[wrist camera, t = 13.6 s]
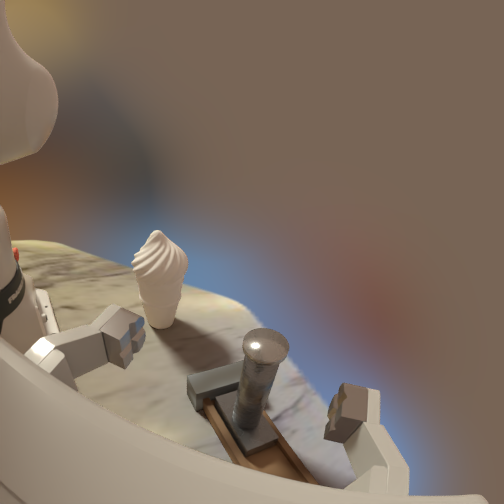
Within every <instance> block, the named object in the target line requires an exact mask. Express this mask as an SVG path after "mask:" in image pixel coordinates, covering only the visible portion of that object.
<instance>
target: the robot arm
mask: <svg viewBox="0 0 504 504" xmlns="http://www.w3.org/2000/svg"><path fill="white" fill-rule="evenodd" d="M57 112H58V94H57V89H56V86H55V83H54V80H53V78H52V77H51V75H50V73H49V72H48V71H47V70H46V69H45V68H44V67H43V66H42V65H41V64H39V63H37V62H36V61H34V60H33V59H32V58H31V57H29V56H28V55H27V54H26V53H25V52H24V51H23V50H22V49H21V48H20V46H19V45H18V44H17V42H16V41H15V39H14V37H13V35H12V33H11V31H10V28H9V25H8V22H7V19H6V12H5V0H0V165H2V164H5V163H7V162H10V161H13V160H16V159H19V158H22V157H24V156H27V155H30V154H33V153H36V152H37V151H38V150H39V149H40V148H41V147H42V146H43V144H44V143H45V142H46V140H47V139H48V137H49V135H50V133H51V131H52V129H53V126H54V124H55V121H56V116H57ZM18 260H19V253H18V249H17V248H12V244H11V239H10V234H9V228H8V222H7V217H6V214H5V212H4V210H3V208H2V207H1V206H0V504H489V503H488V502H487V501H486V499H485V498H484V497H483V496H481V495H474V494H473V495H458V496H408V494H409V493H408V492H409V467H408V465H407V464H406V462H405V460H404V459H403V458H402V455H401V454H400V452H399V450H398V449H397V447H396V446H395V444H394V442H393V441H392V439H391V437H390V436H389V434H388V432H387V431H386V429H385V428H384V426H383V425H380V392H379V390H374V389H369V388H366V387H361V386H356V385H352V384H347V383H342V384H341V386H340V388H339V392H338V394H335V395H334V397H333V399H332V401H331V403H330V406H329V410H328V415H327V416H328V418H329V422H328V423H327V424H326V427H325V434H324V439H325V440H329V441H334V442H338V443H342V444H343V446H344V448H345V451H346V453H347V455H348V458H349V460H350V463H351V465H352V468H353V470H354V473H355V475H356V478H357V480H355V481H354V482H352V483H351V484H350V485H348V486H347V487H346V488H344V489H337V488H331V487H325V486H320V485H314V484H309V483H304V482H300V481H295V480H291V479H287V478H282V477H278V476H274V475H271V474H267V473H263V472H260V471H256V470H253V469H249V468H246V467H243V466H239V465H236V464H233V463H230V462H227V461H224V460H221V459H218V458H215V457H213V456H210V455H207V454H204V453H202V452H199V451H196V450H194V449H191V448H189V447H186V446H184V445H181V444H179V443H176V442H174V441H172V440H169V439H167V438H165V437H163V436H160V435H158V434H156V433H154V432H152V431H149V430H147V429H145V428H143V427H141V426H139V425H137V424H135V423H133V422H131V421H129V420H127V419H125V418H123V417H121V416H119V415H117V414H115V413H114V412H112V411H110V410H108V409H106V408H104V407H103V406H101V405H99V404H97V403H96V402H94V401H92V400H90V399H89V398H87V397H85V396H84V395H82V394H80V393H79V392H77V391H78V388H77V385H76V383H75V381H74V379H75V378H77V377H79V376H81V375H83V374H85V373H87V372H90V371H92V370H94V369H96V368H98V367H100V366H102V365H105V364H107V363H108V362H110V363H112V364H114V365H117V366H119V367H121V368H123V369H126V368H127V366H128V365H129V364H130V362H131V361H132V360H133V354H134V353H137V352H139V351H140V349H141V348H142V346H143V344H144V341H145V336H146V335H145V330H144V329H143V325H144V324H145V322H144V318H143V317H142V316H139V315H137V314H135V313H133V312H131V311H129V310H126V309H124V308H122V307H120V306H117V305H115V304H111V305H109V306H108V307H107V308H106V309H105V310H104V311H103V312H102V313H101V314H100V315H99V316H98V317H97V318H96V319H95V320H94V321H93V322H92V323H91V324H90V325H87V324H86V325H82V326H79V327H76V328H72V329H69V330H66V331H62V332H60V331H59V328H58V325H57V322H56V319H55V315H54V312H53V309H52V305H51V302H50V299H49V295H48V293H47V291H45V290H41V289H35V286H34V282H33V279H32V277H31V276H29V275H27V274H24V273H23V272H22V270H21V267H20V266H19V264H18V262H17V261H18Z"/></svg>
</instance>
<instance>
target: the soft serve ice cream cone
mask: <svg viewBox="0 0 504 504" xmlns="http://www.w3.org/2000/svg"><path fill="white" fill-rule="evenodd" d="M134 257H135V260H133V261H132V263H131V264H132V265H133V266H134V269H133V272H134V273H135V274H136V281H137V283H138V288H139V298H140V300H141V302H142V305H143V308H144V311H145V314H146V317H147V320H148V323H149V324H150V325H151V326H152V327H154V328H156V329H165V328H168V327H170V326H171V325H172V324H173V321H174V318H175V314H176V310H177V306H178V303H179V301H180V299H181V288H182V283H183V280H184V275H185V273H186V271H187V268H188V259H187V256H186V254H185V253H184V252H183V251H182V249H180V248H179V247H178V246H177V245H175V244H174V243H173V242H172V241H170V240H169V239H168V238H167V237H166V236H165V235H164V234H163V233H162V232H161V231H159V230H157V231H154V232H152V233H151V235H150V237H149V238H148V240H147V241H146V244H145V245H144V246H143V247H141V249H140V251H139V252H138V253H136V254H134Z"/></svg>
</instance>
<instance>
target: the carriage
mask: <svg viewBox="0 0 504 504" xmlns="http://www.w3.org/2000/svg"><path fill="white" fill-rule="evenodd" d="M242 348H243V352H244V354H245V358H244V362H243V367H242V372H241V377H240V381H239V386H238V390H236V391H233V392H230V393H227V394H224V395H220V396H217V397H215V404H214V406H215V408H216V410H217V412H218V413H219V415H220V417H221V419H222V420H223V422H224V424H225V425H226V427H227V429H228V431H229V432H230V434H231V436H232V437H233V439H234V441H235V442H236V444H237V445H238V447H239V449H240V450H241V452H242V454H243V455H244V457H248V456H250V455H253V454H255V453H258V452H260V451H262V450H265V449H267V448H269V447H272V446H274V445H276V443H277V441H278V439H279V437H278V435H277V434H276V433H275V431H274V430H273V428H272V427H271V425H270V424H269V423H268V421H267V420H266V418H265V417H264V415H263V414H262V413H263V411H264V408H265V405H266V402H267V399H268V396H269V393H270V391H271V388H272V385H273V382H274V379H275V376H276V373H277V370H278V367H279V364H280V363H281V362H282V361H284V360H285V358H286V357H287V354H288V351H289V343H288V341H287V339H286V338H285V337H284V336H283V335H282V334H280V333H279V332H277V331H274V330H272V329H267V328H258V329H254V330H251V331H250V332H248V333H247V334H246V335H245V337H244V340H243V345H242Z"/></svg>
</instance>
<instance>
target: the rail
mask: <svg viewBox="0 0 504 504" xmlns="http://www.w3.org/2000/svg"><path fill="white" fill-rule="evenodd" d="M243 362H244V360H242V361H239V362H236V363H232V364H229V365H225V366H222V367H218V368H214V369H211V370H207V371H203V372H200V373H196V374H192V375H188V376H187V395H188V397H189V399H190V401H191V403H192V405H193V407H194V409H195V411H198V410H201V409H203V410H204V412H205V414H206V416H207V418H208V420H209V421H210V423H211V425H212V427H213V429H214V430H215V432H216V434H217V436H218V438H219V439H220V441H221V443H222V445H223V446H224V448H225V450H226V451H227V453H228V455H229V457H230V458H231V460H232V462H233V463H234V464H236V465H239V466H243V467H246V468H249V469H253V470H256V471H260V472H263V473H267V474H271V475H274V476H278V477H282V478H287V479H291V480H295V481H300V482H304V483H309V484H314V485H319V484H318V483H317V481H316V480H315V479H314V478H313V476H312V475H311V474H310V472H309V471H308V470H307V468H306V467H305V466H304V464H303V463H302V462H301V460H300V459H299V458H298V456H297V455H296V454H295V452H294V451H293V450H292V448H291V447H290V446H289V444H288V443H287V442H286V440H285V439H284V437H283V436H282V435H281V433H280V432H279V430H278V429H277V428H276V426H275V425H274V423H273V422H272V421H271V419H270V418H269V416H268V415H267V413H266V412H265V410H264V411H263V413H262V414H263V415H264V417H265V418H266V420H267V421H268V423H269V424H270V425H271V427H272V428H273V430H274V431H275V433H276V434H277V435H278V437H279V439H278V441H277V443H276V445H274V446H272V447H269V448H267V449H265V450H262V451H260V452H258V453H255V454H253V455H250V456H248V457H244V455H243V454H242V452H241V450H240V449H239V447H238V445H237V444H236V442H235V441H234V439H233V437H232V436H231V434H230V432H229V431H228V429H227V427H226V425H225V424H224V422H223V420H222V419H221V417H220V415H219V413H218V412H217V410H216V408H215V406H214V404H215V397H217V396H220V395H224V394H227V393H230V392H233V391H236V390H238V386H239V381H240V377H241V372H242V367H243Z"/></svg>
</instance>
